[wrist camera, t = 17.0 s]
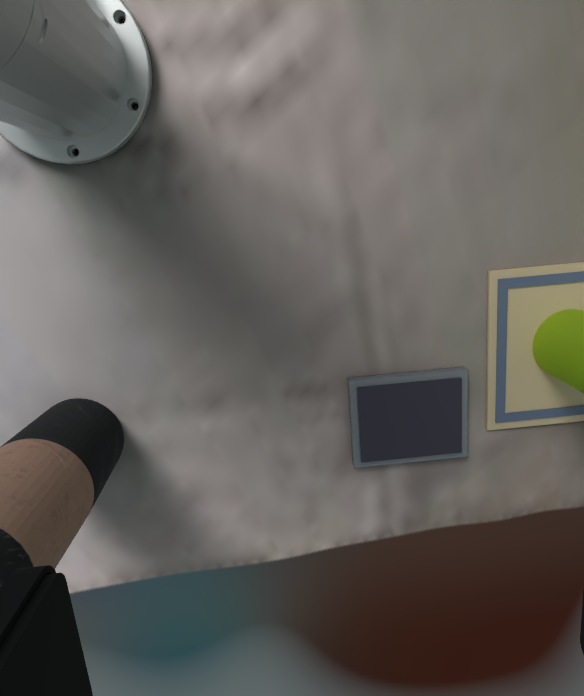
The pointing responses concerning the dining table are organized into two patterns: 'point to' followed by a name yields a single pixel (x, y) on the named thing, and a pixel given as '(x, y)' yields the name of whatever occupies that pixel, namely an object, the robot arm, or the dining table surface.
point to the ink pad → (408, 416)
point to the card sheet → (528, 346)
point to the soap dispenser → (562, 347)
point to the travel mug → (53, 481)
